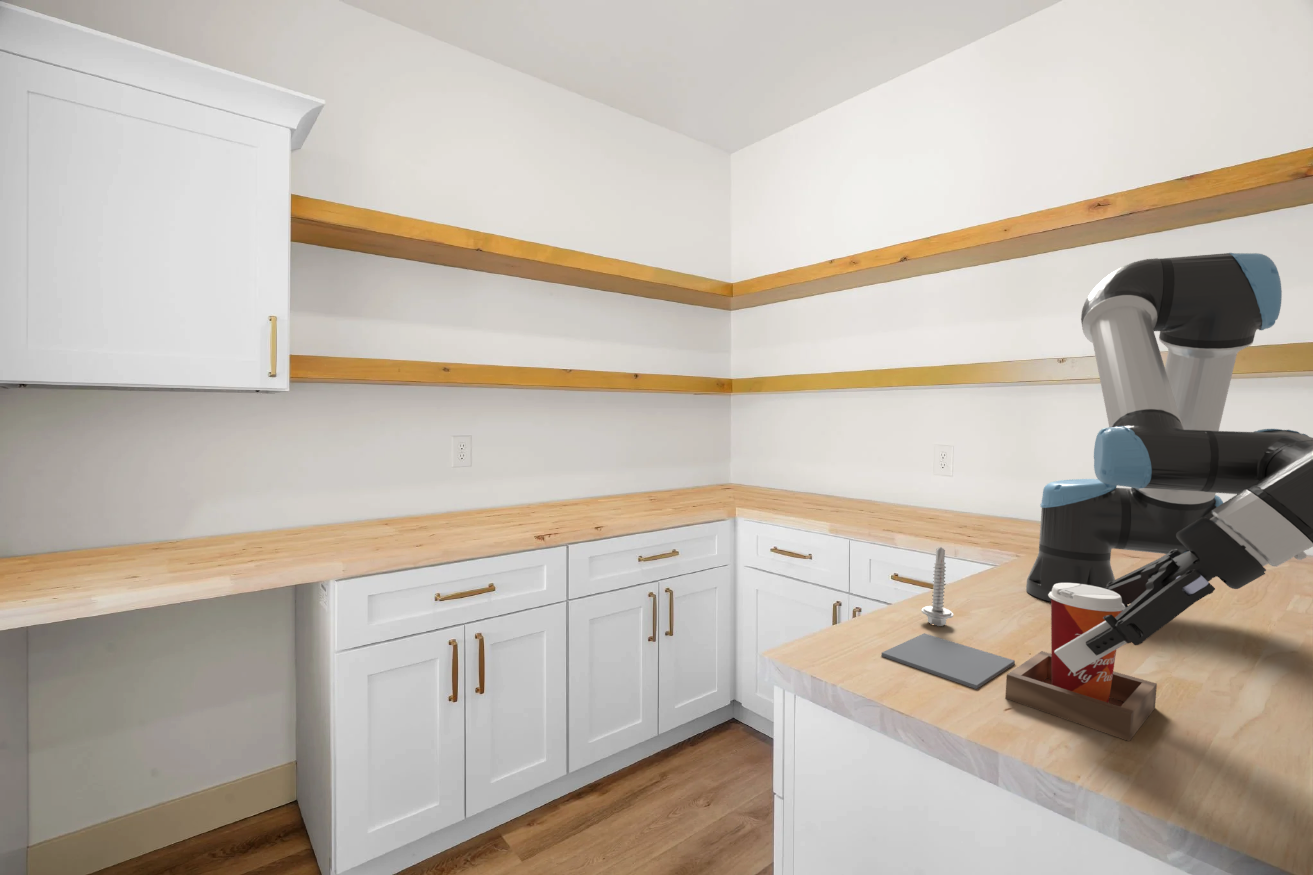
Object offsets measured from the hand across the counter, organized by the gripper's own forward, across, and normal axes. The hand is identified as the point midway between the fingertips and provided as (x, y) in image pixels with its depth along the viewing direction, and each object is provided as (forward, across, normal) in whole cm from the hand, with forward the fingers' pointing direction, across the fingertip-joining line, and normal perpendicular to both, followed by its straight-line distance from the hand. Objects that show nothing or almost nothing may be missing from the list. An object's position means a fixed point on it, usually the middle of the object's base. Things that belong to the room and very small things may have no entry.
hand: (1063, 644), depth 76 cm
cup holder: (+4, 0, -6) cm, 7 cm away
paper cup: (+4, 0, -6) cm, 7 cm away
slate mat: (+14, +4, +5) cm, 16 cm away
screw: (+17, +20, +7) cm, 27 cm away
